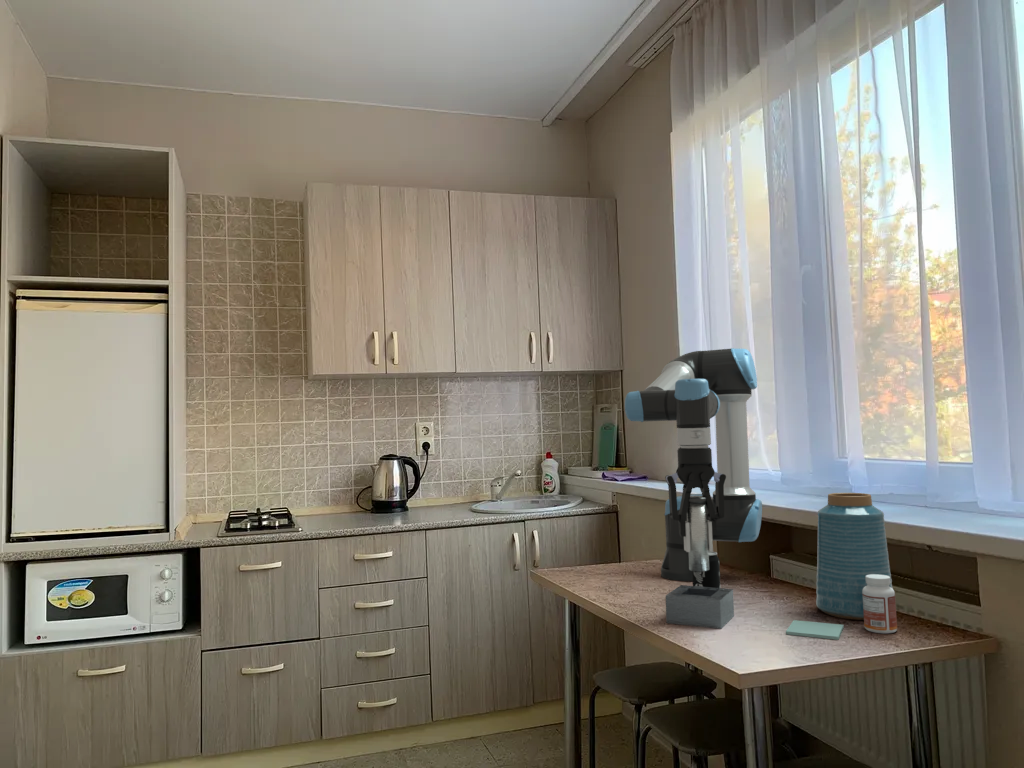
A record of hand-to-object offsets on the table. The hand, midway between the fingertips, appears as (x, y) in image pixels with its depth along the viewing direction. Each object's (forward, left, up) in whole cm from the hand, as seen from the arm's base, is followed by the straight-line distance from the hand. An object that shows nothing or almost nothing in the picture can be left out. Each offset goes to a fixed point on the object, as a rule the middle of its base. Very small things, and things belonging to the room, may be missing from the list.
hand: (698, 550), depth 171 cm
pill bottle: (-6, +36, -15) cm, 40 cm away
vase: (-20, +30, -15) cm, 39 cm away
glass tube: (0, 0, -4) cm, 4 cm away
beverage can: (-17, -3, -15) cm, 23 cm away
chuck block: (0, 0, -15) cm, 15 cm away
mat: (0, +24, -15) cm, 28 cm away
